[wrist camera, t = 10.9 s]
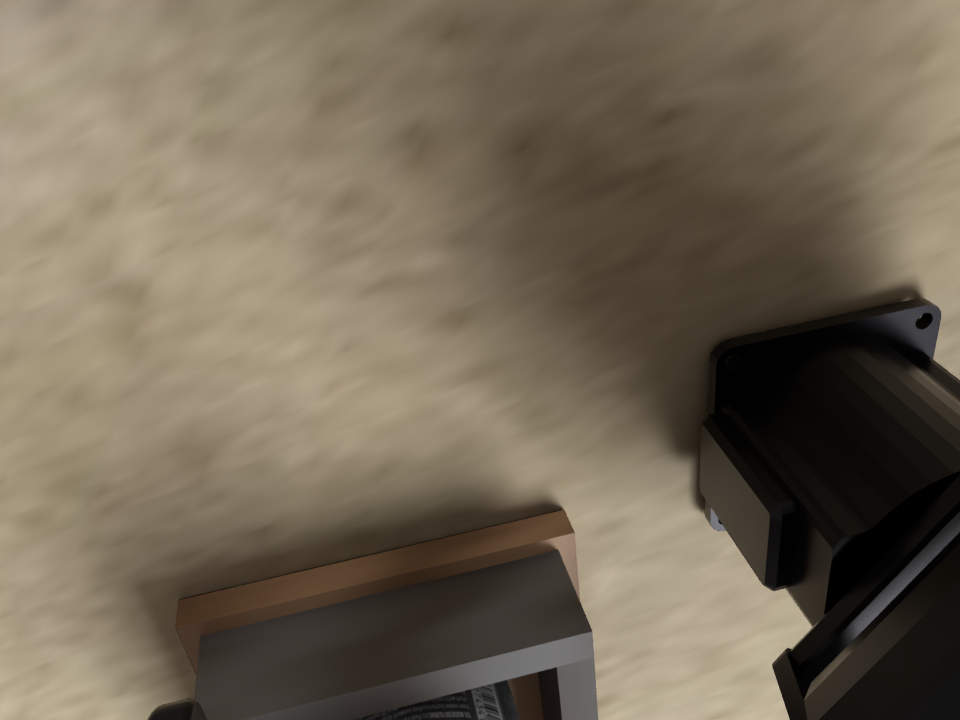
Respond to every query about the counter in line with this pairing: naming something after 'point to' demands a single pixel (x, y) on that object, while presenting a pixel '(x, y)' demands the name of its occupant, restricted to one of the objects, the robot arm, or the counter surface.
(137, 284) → the counter surface
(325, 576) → the holder
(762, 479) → the robot arm
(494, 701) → the pill bottle
